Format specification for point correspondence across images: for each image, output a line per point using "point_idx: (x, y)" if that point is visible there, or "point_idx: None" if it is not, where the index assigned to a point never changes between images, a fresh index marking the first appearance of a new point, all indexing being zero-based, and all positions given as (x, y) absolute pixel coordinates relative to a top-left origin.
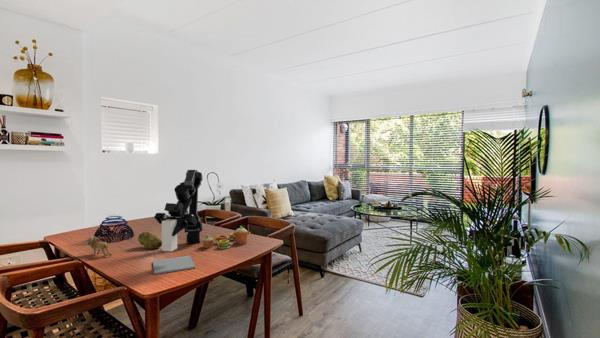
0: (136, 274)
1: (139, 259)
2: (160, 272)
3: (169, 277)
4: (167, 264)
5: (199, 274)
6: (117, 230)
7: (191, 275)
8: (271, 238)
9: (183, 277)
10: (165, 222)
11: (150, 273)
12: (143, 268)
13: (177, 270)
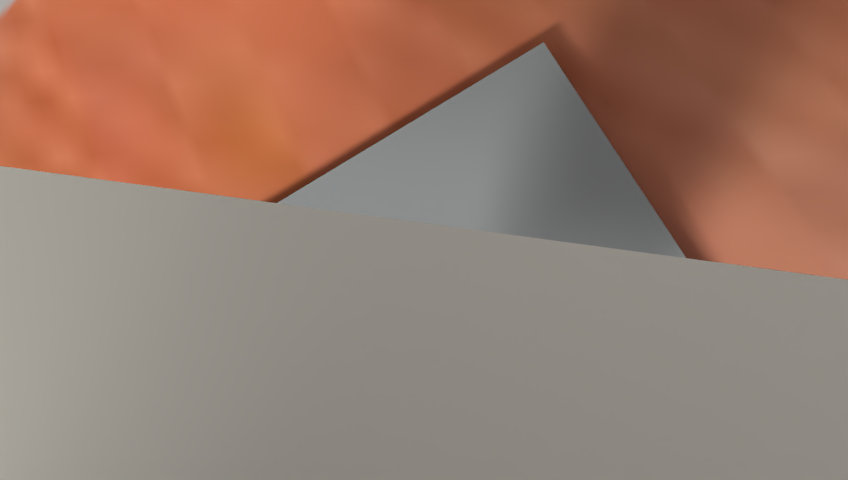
0: (792, 40)
1: None
2: (475, 84)
3: (312, 3)
4: None
5: (2, 124)
6: None
7: (83, 87)
8: None
9: (152, 22)
10: (584, 268)
11: (619, 91)
12: (839, 254)
13: (298, 198)
